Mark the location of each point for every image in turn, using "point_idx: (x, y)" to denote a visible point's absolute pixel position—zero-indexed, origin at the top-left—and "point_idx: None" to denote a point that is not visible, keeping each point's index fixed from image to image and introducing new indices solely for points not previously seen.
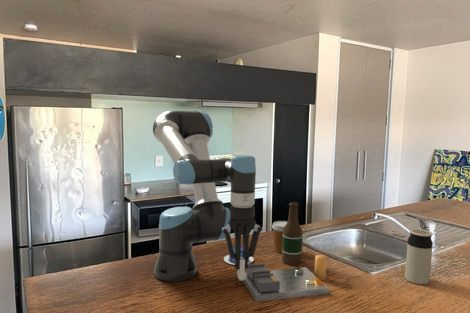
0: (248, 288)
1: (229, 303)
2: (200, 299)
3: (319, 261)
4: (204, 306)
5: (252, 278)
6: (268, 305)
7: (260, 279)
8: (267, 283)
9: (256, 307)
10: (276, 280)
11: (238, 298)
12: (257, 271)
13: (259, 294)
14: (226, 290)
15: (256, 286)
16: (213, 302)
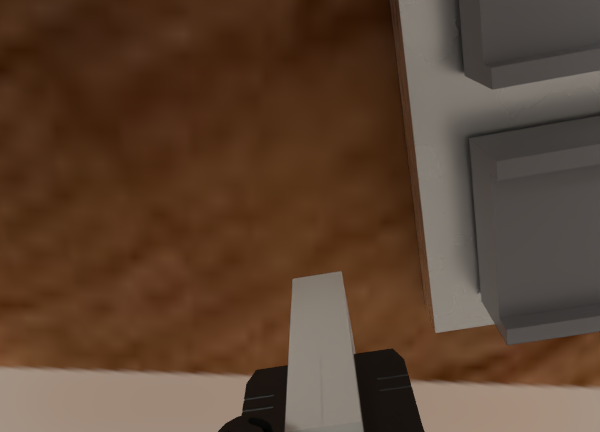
0: (406, 126)
1: (230, 318)
2: (14, 259)
3: None
4: (59, 347)
5: (473, 78)
6: (499, 351)
7: (536, 216)
8: (571, 331)
9: (410, 370)
10: None
11: (301, 255)
12: (560, 67)
13: (464, 318)
14: (211, 123)
15: (474, 205)
16: (116, 302)
